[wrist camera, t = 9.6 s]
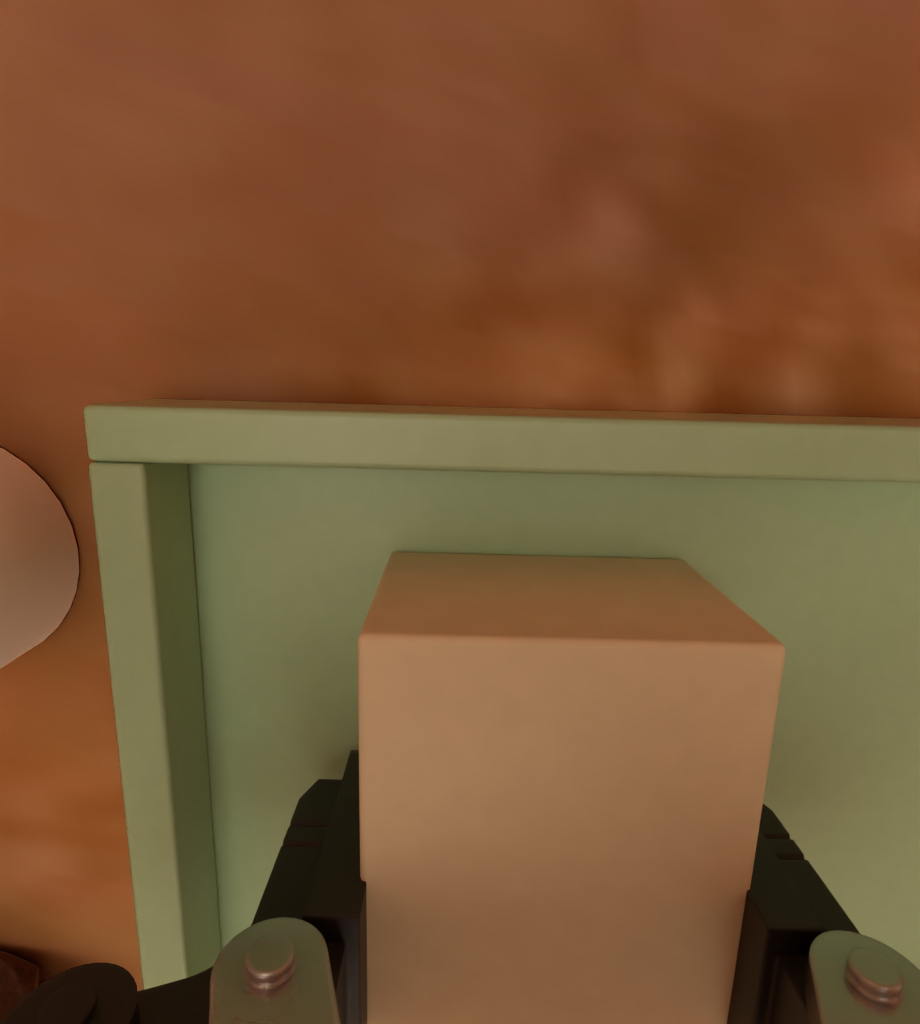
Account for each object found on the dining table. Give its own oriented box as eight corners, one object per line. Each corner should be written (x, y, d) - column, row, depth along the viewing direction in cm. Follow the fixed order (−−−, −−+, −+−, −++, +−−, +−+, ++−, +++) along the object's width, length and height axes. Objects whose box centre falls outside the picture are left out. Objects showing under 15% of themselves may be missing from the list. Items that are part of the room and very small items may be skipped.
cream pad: (390, 550, 11) (356, 634, 7) (684, 557, 11) (789, 645, 7) (389, 981, 13) (362, 1209, 9) (637, 986, 13) (703, 1216, 9)
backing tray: (152, 398, 11) (79, 405, 9) (1239, 426, 11) (1425, 439, 9) (204, 1033, 14) (158, 1149, 12) (1055, 1051, 14) (1159, 1171, 12)
